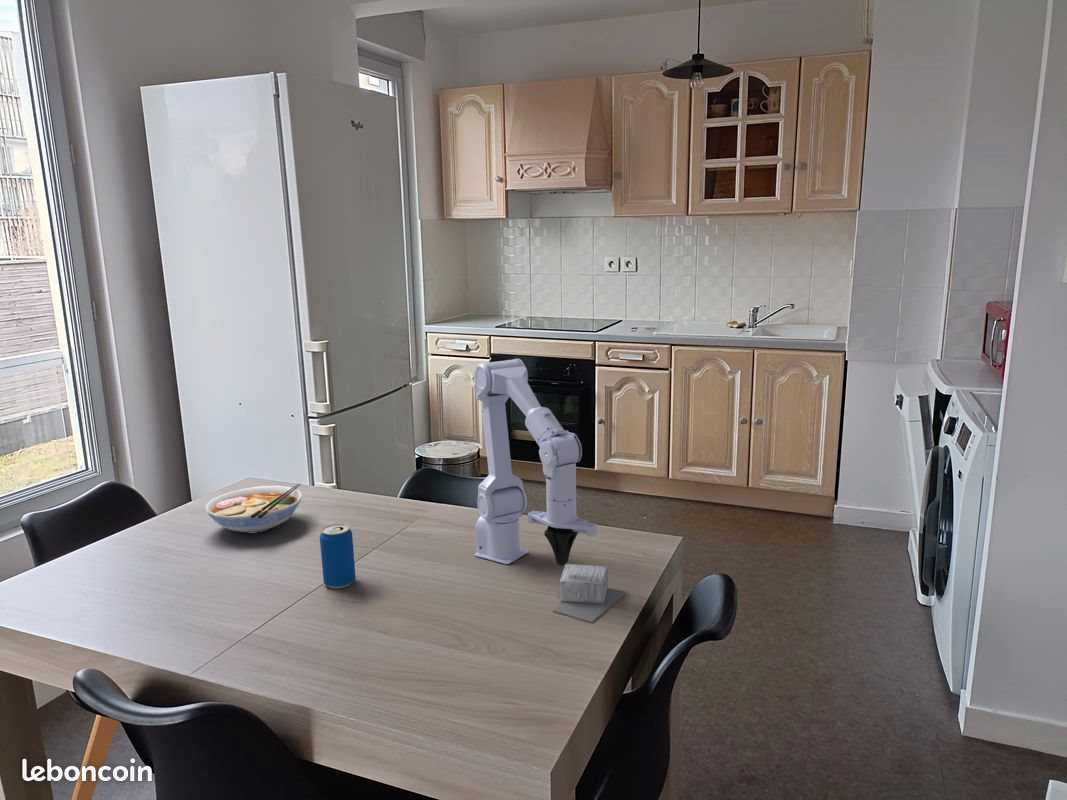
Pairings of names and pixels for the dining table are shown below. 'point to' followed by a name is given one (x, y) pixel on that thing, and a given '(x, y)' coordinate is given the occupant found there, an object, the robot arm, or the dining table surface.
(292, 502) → the ramen bowl
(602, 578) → the medicine box
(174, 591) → the dining table surface
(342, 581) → the beverage can
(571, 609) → the mat
